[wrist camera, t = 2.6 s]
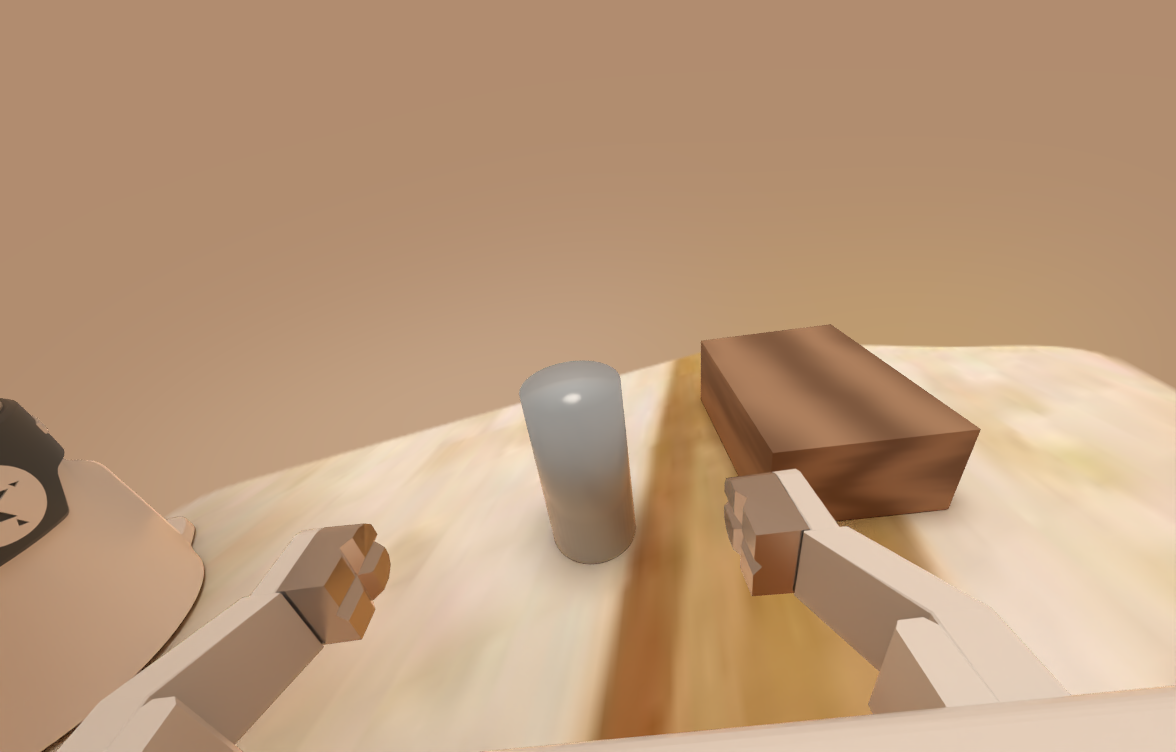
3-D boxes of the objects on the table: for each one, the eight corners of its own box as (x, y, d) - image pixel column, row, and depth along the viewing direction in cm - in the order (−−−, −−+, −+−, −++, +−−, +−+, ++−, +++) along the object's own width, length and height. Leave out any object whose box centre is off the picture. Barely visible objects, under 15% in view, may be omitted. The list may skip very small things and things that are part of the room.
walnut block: (764, 528, 26) (772, 453, 23) (700, 399, 39) (701, 340, 36) (948, 509, 25) (980, 429, 22) (820, 384, 38) (830, 324, 35)
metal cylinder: (551, 568, 25) (512, 419, 20) (556, 501, 30) (525, 367, 24) (640, 558, 25) (625, 405, 20) (630, 493, 30) (616, 355, 24)
